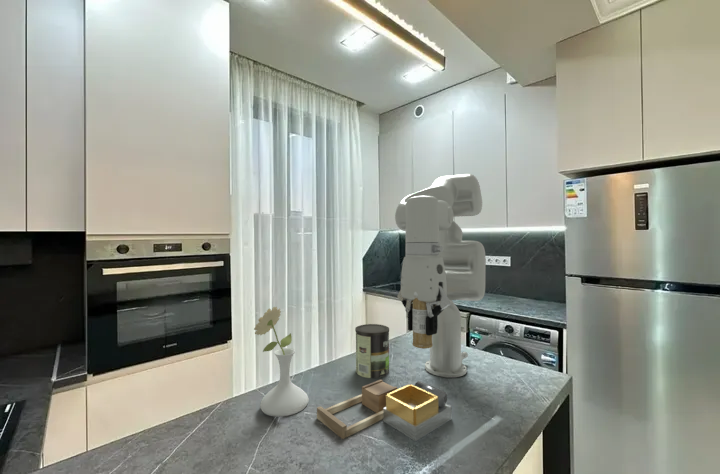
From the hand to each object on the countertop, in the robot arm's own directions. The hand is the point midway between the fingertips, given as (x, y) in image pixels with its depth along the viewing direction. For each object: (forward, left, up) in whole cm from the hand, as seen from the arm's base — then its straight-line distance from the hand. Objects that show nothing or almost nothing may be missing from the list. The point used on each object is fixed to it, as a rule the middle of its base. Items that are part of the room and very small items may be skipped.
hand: (422, 331), depth 71 cm
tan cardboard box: (+4, -10, -19) cm, 21 cm away
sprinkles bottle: (0, 0, -4) cm, 4 cm away
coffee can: (-8, -26, -20) cm, 33 cm away
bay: (+9, -10, -20) cm, 24 cm away
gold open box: (+2, 0, -20) cm, 20 cm away
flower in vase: (+22, -25, -20) cm, 39 cm away
